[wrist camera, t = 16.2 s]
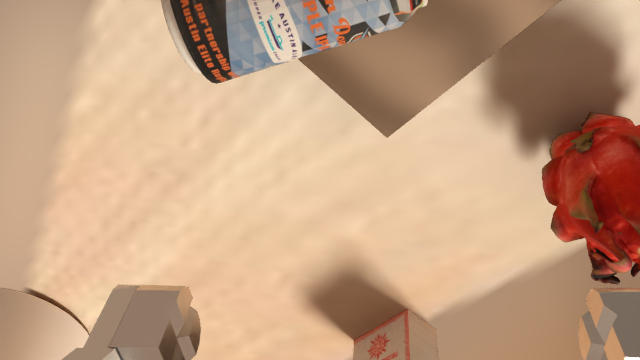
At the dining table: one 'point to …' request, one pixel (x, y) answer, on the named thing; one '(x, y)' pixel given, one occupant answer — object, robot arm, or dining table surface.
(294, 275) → the dining table surface
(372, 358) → the tea bag
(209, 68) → the beverage can
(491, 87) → the dining table surface
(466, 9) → the walnut base
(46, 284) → the dining table surface
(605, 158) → the dragon fruit
